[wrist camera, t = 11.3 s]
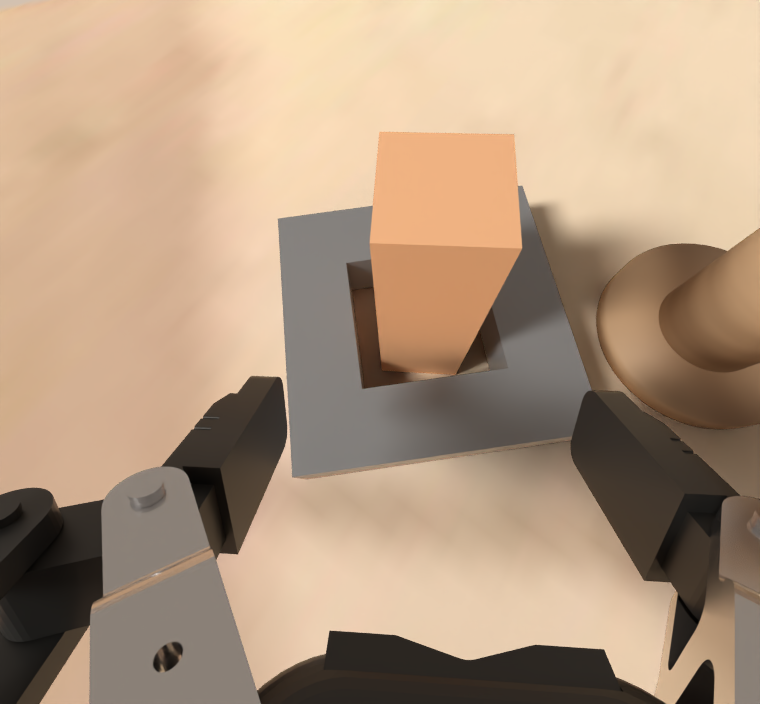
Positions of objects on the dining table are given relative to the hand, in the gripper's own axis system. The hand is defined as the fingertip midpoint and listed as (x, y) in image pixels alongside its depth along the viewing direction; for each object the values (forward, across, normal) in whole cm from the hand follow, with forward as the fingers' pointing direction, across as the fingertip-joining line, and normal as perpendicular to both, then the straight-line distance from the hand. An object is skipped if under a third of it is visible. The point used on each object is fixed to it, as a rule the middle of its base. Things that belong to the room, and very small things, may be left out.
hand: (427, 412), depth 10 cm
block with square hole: (+9, 0, +1) cm, 9 cm away
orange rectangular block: (+9, 0, +2) cm, 9 cm away
